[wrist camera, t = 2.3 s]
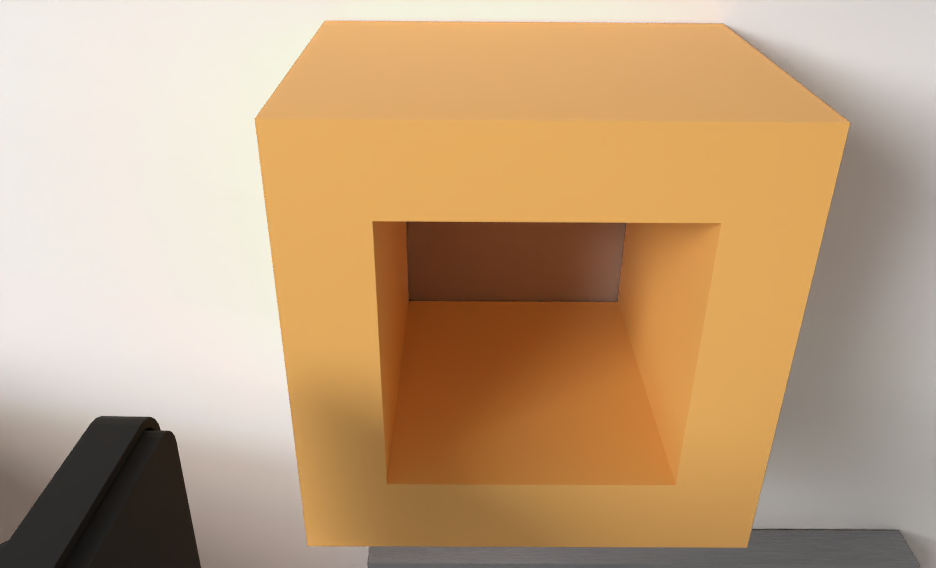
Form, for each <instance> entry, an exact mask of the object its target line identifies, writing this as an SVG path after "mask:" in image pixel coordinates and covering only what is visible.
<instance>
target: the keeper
mask: <svg viewBox="0 0 936 568" xmlns="http://www.w3.org/2000/svg"><path fill="white" fill-rule="evenodd" d="M367 564H368V568H919V567H920V564H919V562H918V561H917V559H916V557H915V556H914V554H913V552H912V551H911V549H910V548H909V546H908V544H907V543H906V541H905V539H904V538H903V536H902V535H901V533H900V531H899V530H751V533H750V537H749V542H748V546H747V548H704V547H419V546H370V548H369V555H368V563H367Z"/></svg>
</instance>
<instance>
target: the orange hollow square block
mask: <svg viewBox="0 0 936 568" xmlns="http://www.w3.org/2000/svg"><path fill="white" fill-rule="evenodd" d="M255 125H256V133H257V141H258V149H259V157H260V165H261V173H262V182H263V190H264V198H265V206H266V214H267V222H268V230H269V238H270V246H271V254H272V263H273V271H274V279H275V287H276V295H277V303H278V311H279V319H280V327H281V335H282V343H283V352H284V360H285V368H286V376H287V384H288V392H289V400H290V408H291V416H292V424H293V433H294V441H295V449H296V457H297V465H298V473H299V481H300V489H301V497H302V505H303V514H304V522H305V530H306V538H307V546H419V547H704V548H747V546H748V542H749V537H750V533H751V529H752V525H753V521H754V517H755V513H756V509H757V504H758V500H759V496H760V492H761V488H762V484H763V480H764V476H765V472H766V467H767V463H768V459H769V455H770V451H771V447H772V443H773V439H774V435H775V430H776V426H777V422H778V418H779V414H780V410H781V406H782V402H783V398H784V393H785V389H786V385H787V381H788V377H789V373H790V369H791V365H792V361H793V356H794V352H795V348H796V344H797V340H798V336H799V332H800V328H801V323H802V319H803V315H804V311H805V307H806V303H807V299H808V295H809V291H810V286H811V282H812V278H813V274H814V270H815V266H816V262H817V258H818V254H819V249H820V245H821V241H822V237H823V233H824V229H825V225H826V221H827V217H828V212H829V208H830V204H831V200H832V196H833V192H834V188H835V184H836V180H837V175H838V171H839V167H840V163H841V159H842V155H843V151H844V147H845V142H846V138H847V134H848V130H849V126H850V122H849V121H848V120H846V119H845V118H844V117H843V116H841V115H840V114H839V113H837V112H836V111H835V110H834V109H832V108H831V107H830V106H828V105H827V104H826V103H825V102H823V101H822V100H821V99H819V98H818V97H817V96H816V95H814V94H813V93H812V92H810V91H809V90H808V89H807V88H805V87H804V86H803V85H801V84H800V83H799V82H798V81H796V80H795V79H794V78H792V77H791V76H790V75H789V74H787V73H786V72H785V71H783V70H782V69H781V68H780V67H778V66H777V65H776V64H774V63H773V62H772V61H771V60H769V59H768V58H767V57H765V56H764V55H763V54H762V53H760V52H759V51H758V50H756V49H755V48H754V47H753V46H751V45H750V44H749V43H747V42H746V41H745V40H744V39H742V38H741V37H740V36H738V35H737V34H736V33H735V32H733V31H732V30H731V29H729V28H728V27H727V26H726V25H724V24H702V23H560V22H418V21H324V23H323V24H322V25H321V27H320V28H319V30H318V31H317V32H316V34H315V35H314V37H313V38H312V39H311V41H310V42H309V44H308V45H307V46H306V48H305V49H304V51H303V52H302V53H301V55H300V56H299V58H298V59H297V60H296V62H295V63H294V65H293V66H292V67H291V69H290V70H289V72H288V73H287V74H286V76H285V77H284V79H283V80H282V81H281V83H280V84H279V86H278V87H277V88H276V90H275V91H274V93H273V94H272V95H271V97H270V98H269V100H268V101H267V102H266V104H265V105H264V106H263V108H262V109H261V111H260V112H259V113H258V115H257V116H256V118H255ZM406 221H422V222H597V223H626V230H625V239H624V248H623V257H622V266H621V275H620V284H619V293H618V302H538V301H409V295H408V264H407V233H406Z"/></svg>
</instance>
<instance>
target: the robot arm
mask: <svg viewBox="0 0 936 568" xmlns="http://www.w3.org/2000/svg"><path fill="white" fill-rule="evenodd" d="M0 568H201V566H200V561H199V556H198V550H197V545H196V540H195V535H194V530H193V525H192V520H191V514H190V509H189V504H188V499H187V494H186V489H185V484H184V478H183V473H182V468H181V463H180V458H179V453H178V448H177V442H176V439H175V436H174V434H173V433H172V432H171V431H161V430H160V427H159V424H158V423H157V421H156V420H155V419H154V418H152V417H120V416H101V417H98V418H96V419H95V420H94V421H93V422H92V423H91V424H90V425H89V427H88V428H87V430H86V431H85V432H84V434H83V435H82V437H81V438H80V440H79V441H78V442H77V444H76V445H75V447H74V448H73V450H72V451H71V453H70V454H69V455H68V457H67V458H66V460H65V461H64V463H63V464H62V465H61V467H60V468H59V470H58V471H57V473H56V474H55V475H54V477H53V478H52V480H51V481H50V483H49V484H48V485H47V487H46V488H45V490H44V491H43V493H42V494H41V495H40V497H39V498H38V500H37V501H36V503H35V504H34V505H33V507H32V508H31V510H30V511H29V513H28V514H27V515H26V517H25V518H24V520H23V521H22V523H21V524H20V525H19V527H18V528H17V530H16V531H15V533H14V534H13V535H12V537H11V538H10V540H8V541H6V542H4V543H3V544H1V545H0Z"/></svg>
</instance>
